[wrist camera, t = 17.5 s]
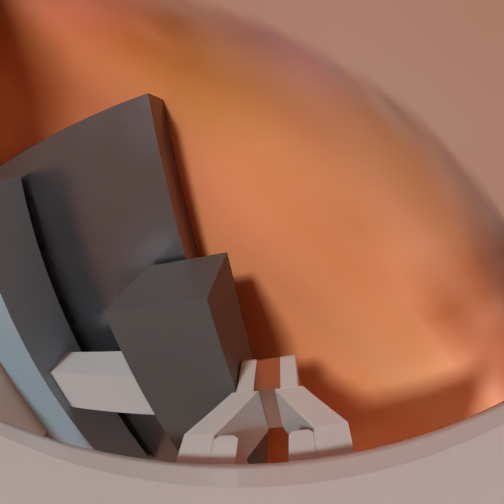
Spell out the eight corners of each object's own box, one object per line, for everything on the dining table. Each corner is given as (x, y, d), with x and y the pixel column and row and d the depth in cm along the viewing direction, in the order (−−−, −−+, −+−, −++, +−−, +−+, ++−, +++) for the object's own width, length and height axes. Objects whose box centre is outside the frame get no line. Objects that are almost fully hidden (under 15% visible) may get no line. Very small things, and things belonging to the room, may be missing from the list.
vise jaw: (194, 105, 9) (156, 84, 6) (282, 465, 14) (282, 513, 11) (-13, 195, 10) (-64, 211, 7) (116, 458, 16) (100, 495, 12)
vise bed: (162, 99, 10) (105, 76, 6) (260, 452, 16) (256, 510, 12) (-59, 218, 13) (-101, 235, 9) (42, 430, 19) (21, 462, 15)
